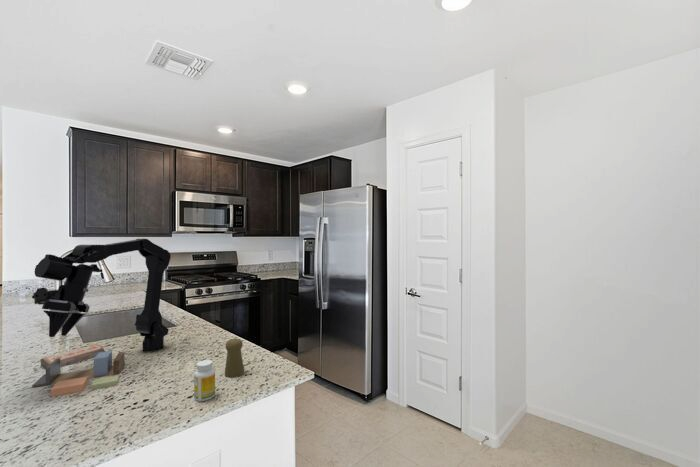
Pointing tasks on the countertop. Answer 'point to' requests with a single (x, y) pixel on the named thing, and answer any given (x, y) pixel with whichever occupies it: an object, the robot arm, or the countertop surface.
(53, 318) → the robot arm
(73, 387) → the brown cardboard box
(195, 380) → the supplement bottle
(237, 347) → the cork
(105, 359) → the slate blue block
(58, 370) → the bookend
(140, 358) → the countertop surface
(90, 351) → the packaged product
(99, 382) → the olive book
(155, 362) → the countertop surface
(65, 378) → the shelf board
